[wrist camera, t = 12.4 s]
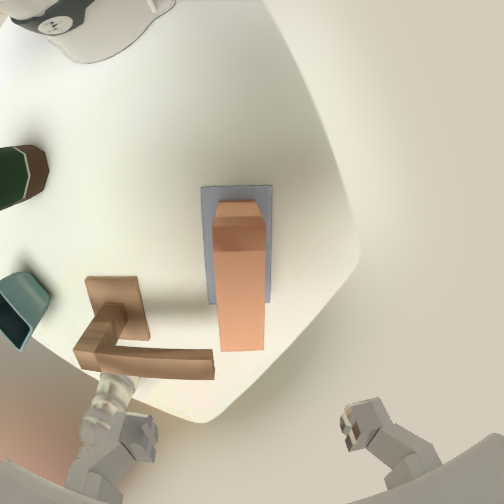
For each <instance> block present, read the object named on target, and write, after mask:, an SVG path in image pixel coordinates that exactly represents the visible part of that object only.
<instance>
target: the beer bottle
mask: <svg viewBox="0 0 504 504" xmlns="http://www.w3.org/2000/svg"><path fill="white" fill-rule="evenodd" d="M48 172H49V170H48V166H47V162H46V157H45V153H44V152H42V151H41V150H39V149H37V148H36V147H34V146H32V145H21V146H12V147H4V148H0V211H1V210H3V209H6V208H8V207H11V206H13V205H16V204H18V203H21V202H23V201H26V200H28V199H30V198H32V197H33V196H35V195H36V194H38V193H40V192H42V191H43V189H44V185H45V182H46V179H47V175H48Z"/></svg>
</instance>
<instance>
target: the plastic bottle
mask: <svg viewBox="0 0 504 504" xmlns="http://www.w3.org/2000/svg"><path fill="white" fill-rule="evenodd" d="M138 384H139V377H137V376H127V375H119V374H111V373H104V372H101V375H100V380H99V383H98V387H97V390H96V393H95V395H94V397H93V399H92V401H91V403H90V405H89V407H88V409H87V410H86V412H85V413H84V415H83V417H82V418H81V420H80V422H79V427H78V431H79V435H80V439H81V441H82V444H83V446H81V447H80V448H79V454H78V456H77V459H79V458H80V457H81V456H83V455H84V454H85V453H87V452H88V451H89V450H90V449H92V448H93V447H94V446H95V445H97V444H98V443H99V442H100V441H102V440H103V439H107V437H108V433H109V430H110V427H111V423H112V420H113V417H114V414H115V412H116V411H117V410H122V411H126V410H127V407H128V404H129V402H130V399H131V397H132V395H133V394H134V392H135V391H136V389H137V387H138Z"/></svg>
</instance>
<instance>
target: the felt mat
mask: <svg viewBox="0 0 504 504" xmlns="http://www.w3.org/2000/svg"><path fill="white" fill-rule="evenodd" d="M219 200H255V201H256V204H257V206H258V208H259V210H260V213H261V215H262V217H263V219H264V222H265V224H266V266H265V303H270V284H271V241H272V186H218V187H201V203H202V222H203V239H204V253H205V267H206V279H207V290H208V301H209V305H211V304H217V299H216V286H215V272H214V256H213V239H212V224H213V221H214V217H215V213H216V210H217V206H218V203H219Z"/></svg>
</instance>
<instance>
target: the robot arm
mask: <svg viewBox="0 0 504 504" xmlns="http://www.w3.org/2000/svg"><path fill="white" fill-rule="evenodd" d="M174 4H175V0H0V13H1V14H4V15H7V16H9V17H10V18H11V20H12V22H13V23H15V24H17V25H19V26H21V27H23V28H25V29H28V30H30V31H32V32H36V33H40V34H42V35H44V36H45V37H46V38H48V41H49V42H50V43H51V44H53V45H55V46H58V47H59V48H60V49H61V50H62V51H63V52H64V53H65V55H66V56H67V57H68V58H69V59H71V60H72V61H74V62H77V63H94V62H98V61H101V60H104V59H107V58H109V57H111V56H113V55H115V54H117V53H118V52H120V51H122V50H123V49H125V48H126V47H127V46H129V45H130V44H131V43H132V42H134V41H135V40H136V39H137V38H138V37H139V36H140V35H141V34H142V33H143V32H144V31H145V29H146V28H147V27H148V26H149V24H150V23H151V22H152V21H153V20H154V19H155V18H157V17H159V16H160V15H162V14H163V13H165V12H167V11H168V10H169V9H171V8H172V7H173V6H174ZM344 410H345V413H343V414H342V415H341V418H340V427H341V430H342V433H343V434H345V435H346V436H347V437H346V439H345V442H346V445H347V448H348V451H349V452H351V451H355V450H359V449H363V448H366V449H367V450H368V451H369V452H371V453H372V454H373V455H374V456H376V457H377V458H378V459H379V460H381V461H382V462H383V463H385V464H386V465H387V466H388V467H390V468H391V469H392V471H391V472H390V473H389V474H388V475H387V476H386V477H385V478H384V480H385V483H386V486H387V489H388V490H387V491H385V492H382V493H380V494H376V495H374V496H371V497H368V498H365V499H361V500H358V501H355V502H352V503H348V504H504V436H503V435H500V434H497V433H492V434H490V435H488V436H487V437H485V438H484V439H483V440H481V441H480V442H478V443H477V444H475V445H474V446H472V447H471V448H470V449H468V450H466V451H465V452H463V453H462V454H460V455H458V456H457V457H455V458H453V459H452V460H450V461H448V462H447V463H445V464H443V465H442V463H441V461H440V459H439V457H438V455H437V453H436V451H435V449H434V447H433V445H432V444H431V443H429V442H427V441H425V440H424V439H422V438H420V437H418V436H417V435H415V434H413V433H411V432H410V431H408V430H406V429H404V428H403V427H401V426H399V425H398V424H396V423H395V424H393V423H392V421H391V419H390V417H389V415H388V413H387V411H386V409H385V407H384V405H383V403H382V401H381V399H380V398H379V397H378V398H377V397H376V398H372V399H369V400H364V401H360V402H356V403H352V404H347V405H346V406H345V408H344ZM152 421H153V418H152V416H151V415H150V414H142V413H134V412H128V411H122V410H117V411H116V412H115V414H114V417H113V420H112V423H111V427H110V430H109V433H108V437H107V439H103V440H102V441H100V442H99V443H98V444H97V445H95V446H94V447H93V448H92V449H90V450H89V451H88V452H87V453H85V454H84V455H83V456H81V457H80V458H79V459H78V460H76V461H75V462H74V463H72V464H71V466H70V470H69V473H68V477H67V480H66V483H65V487H62V486H59V485H57V484H55V483H52V482H50V481H48V480H46V479H44V478H42V477H40V476H38V475H36V474H34V473H32V472H30V471H28V470H26V469H24V468H23V467H21V466H19V465H17V464H16V463H14V462H12V461H10V460H3V461H0V504H122V500H123V493H122V492H121V491H119V490H118V489H117V488H116V487H114V485H115V484H116V482H118V481H119V480H120V478H121V477H122V476H123V475H124V474H125V473H126V472H127V471H128V470H129V469H130V468H131V466H133V464H134V463H135V462H136V460H137V461H144V462H152V463H154V461H155V454H156V450H155V448H154V447H153V446H154V445H155V444H156V443H157V442H158V429H157V426H156V424H155V423H153V422H152Z"/></svg>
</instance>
